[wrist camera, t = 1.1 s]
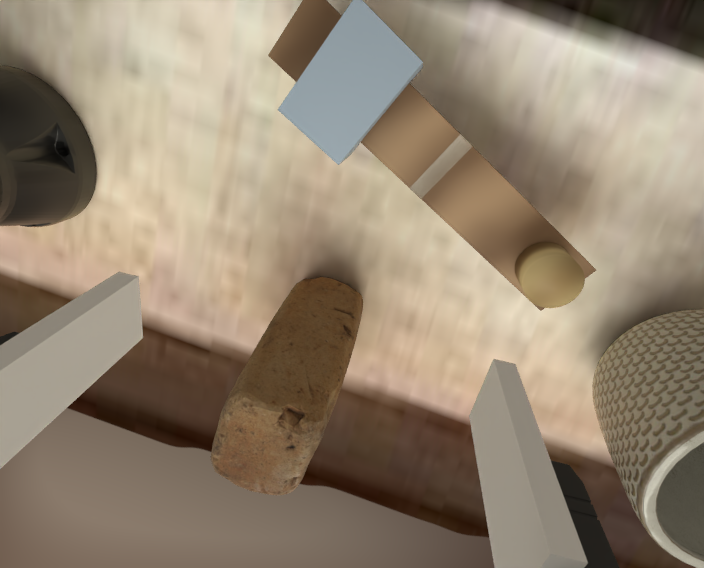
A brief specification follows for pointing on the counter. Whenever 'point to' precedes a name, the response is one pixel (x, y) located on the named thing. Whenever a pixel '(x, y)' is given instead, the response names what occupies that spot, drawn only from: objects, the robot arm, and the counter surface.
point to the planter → (658, 426)
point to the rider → (350, 82)
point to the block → (288, 389)
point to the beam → (452, 178)
